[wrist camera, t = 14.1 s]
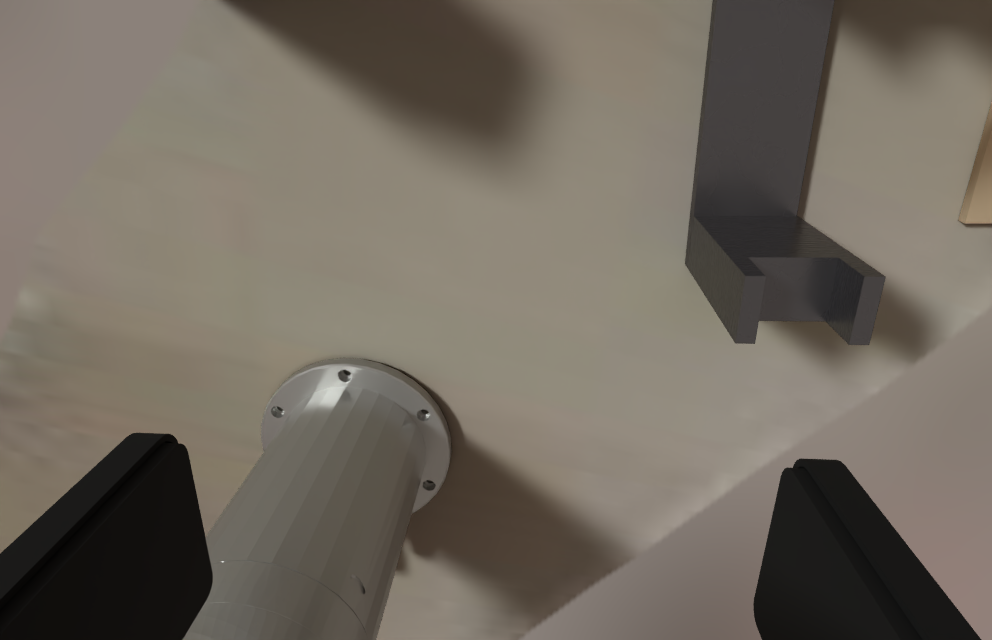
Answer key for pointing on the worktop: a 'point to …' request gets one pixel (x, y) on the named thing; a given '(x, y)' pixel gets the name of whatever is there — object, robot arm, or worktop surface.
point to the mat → (980, 182)
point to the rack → (768, 178)
